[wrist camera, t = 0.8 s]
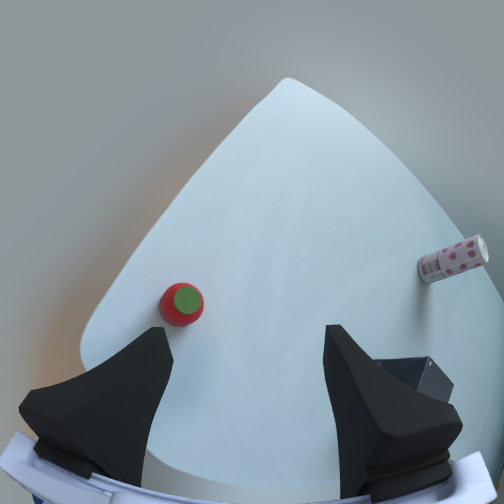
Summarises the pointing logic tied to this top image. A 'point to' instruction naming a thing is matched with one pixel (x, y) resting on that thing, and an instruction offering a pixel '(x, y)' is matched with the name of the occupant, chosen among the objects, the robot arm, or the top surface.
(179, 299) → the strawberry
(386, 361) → the small box
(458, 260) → the beverage can
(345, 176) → the top surface
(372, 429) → the robot arm
